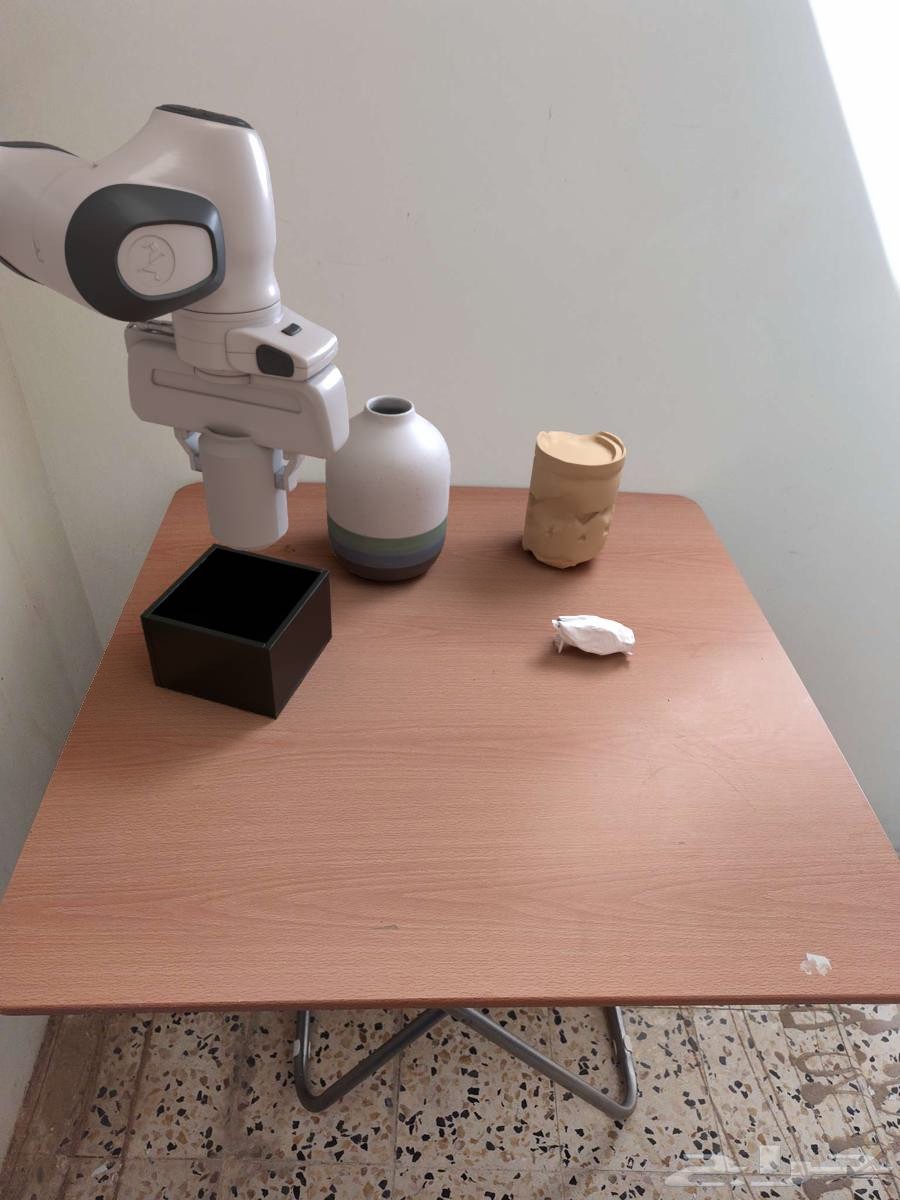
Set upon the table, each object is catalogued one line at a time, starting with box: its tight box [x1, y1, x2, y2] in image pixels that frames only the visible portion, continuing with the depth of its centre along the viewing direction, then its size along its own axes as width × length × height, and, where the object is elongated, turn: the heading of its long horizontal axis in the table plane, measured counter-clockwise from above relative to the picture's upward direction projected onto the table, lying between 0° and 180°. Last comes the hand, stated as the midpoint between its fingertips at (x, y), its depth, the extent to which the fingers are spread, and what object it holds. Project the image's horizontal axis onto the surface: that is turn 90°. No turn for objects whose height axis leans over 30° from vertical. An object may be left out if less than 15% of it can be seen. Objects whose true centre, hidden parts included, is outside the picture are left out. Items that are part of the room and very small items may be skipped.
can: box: [198, 427, 289, 552], centre depth 76 cm, size 8×8×12 cm
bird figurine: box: [551, 614, 636, 657], centre depth 103 cm, size 5×7×10 cm
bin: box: [139, 543, 333, 720], centre depth 95 cm, size 16×16×10 cm
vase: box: [324, 394, 452, 582], centre depth 110 cm, size 17×17×24 cm
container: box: [521, 430, 627, 569], centre depth 117 cm, size 13×13×18 cm
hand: (244, 478), depth 75 cm, fingers closed on can, 7 cm apart
